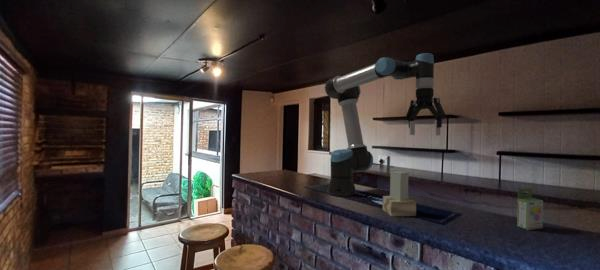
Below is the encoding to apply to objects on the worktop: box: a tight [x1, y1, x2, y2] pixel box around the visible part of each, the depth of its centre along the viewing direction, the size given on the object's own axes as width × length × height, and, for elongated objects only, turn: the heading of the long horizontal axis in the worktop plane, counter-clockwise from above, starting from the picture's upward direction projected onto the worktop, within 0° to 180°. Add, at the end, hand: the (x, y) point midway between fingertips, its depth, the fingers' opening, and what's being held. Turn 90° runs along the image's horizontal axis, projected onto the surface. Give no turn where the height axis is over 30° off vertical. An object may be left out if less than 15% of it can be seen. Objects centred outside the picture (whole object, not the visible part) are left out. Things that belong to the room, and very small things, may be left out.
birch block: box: [382, 195, 417, 217], centre depth 119 cm, size 10×10×6 cm
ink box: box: [516, 187, 544, 231], centre depth 100 cm, size 7×4×13 cm, turn 105°
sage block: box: [389, 170, 410, 201], centre depth 119 cm, size 5×5×11 cm
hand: (424, 135), depth 132 cm, fingers open, 13 cm apart
